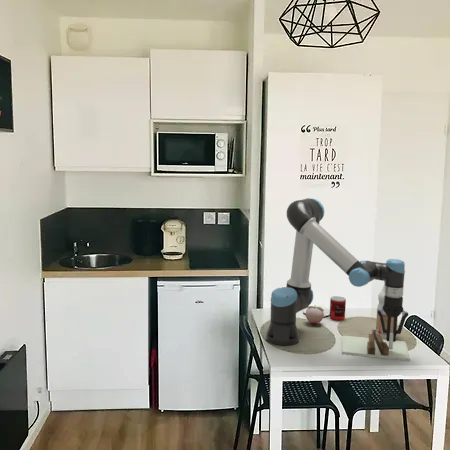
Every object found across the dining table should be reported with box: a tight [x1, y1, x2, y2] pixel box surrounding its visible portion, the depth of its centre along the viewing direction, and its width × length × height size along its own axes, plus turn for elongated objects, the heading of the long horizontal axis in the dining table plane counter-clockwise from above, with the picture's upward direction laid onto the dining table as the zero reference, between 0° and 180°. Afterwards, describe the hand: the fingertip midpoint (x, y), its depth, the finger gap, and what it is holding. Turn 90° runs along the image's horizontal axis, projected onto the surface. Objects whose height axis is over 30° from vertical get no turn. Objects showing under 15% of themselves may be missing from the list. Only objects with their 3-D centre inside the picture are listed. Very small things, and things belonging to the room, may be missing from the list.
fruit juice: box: [375, 281, 399, 340], centre depth 243 cm, size 9×9×28 cm
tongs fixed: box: [367, 329, 376, 355], centre depth 230 cm, size 4×20×4 cm, turn 167°
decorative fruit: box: [304, 305, 325, 325], centre depth 260 cm, size 9×8×10 cm
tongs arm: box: [375, 334, 389, 355], centre depth 228 cm, size 3×17×3 cm, turn 173°
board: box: [341, 335, 411, 362], centre depth 230 cm, size 28×20×1 cm
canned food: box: [329, 295, 347, 322], centre depth 269 cm, size 8×8×11 cm
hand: (390, 348), depth 225 cm, fingers closed
